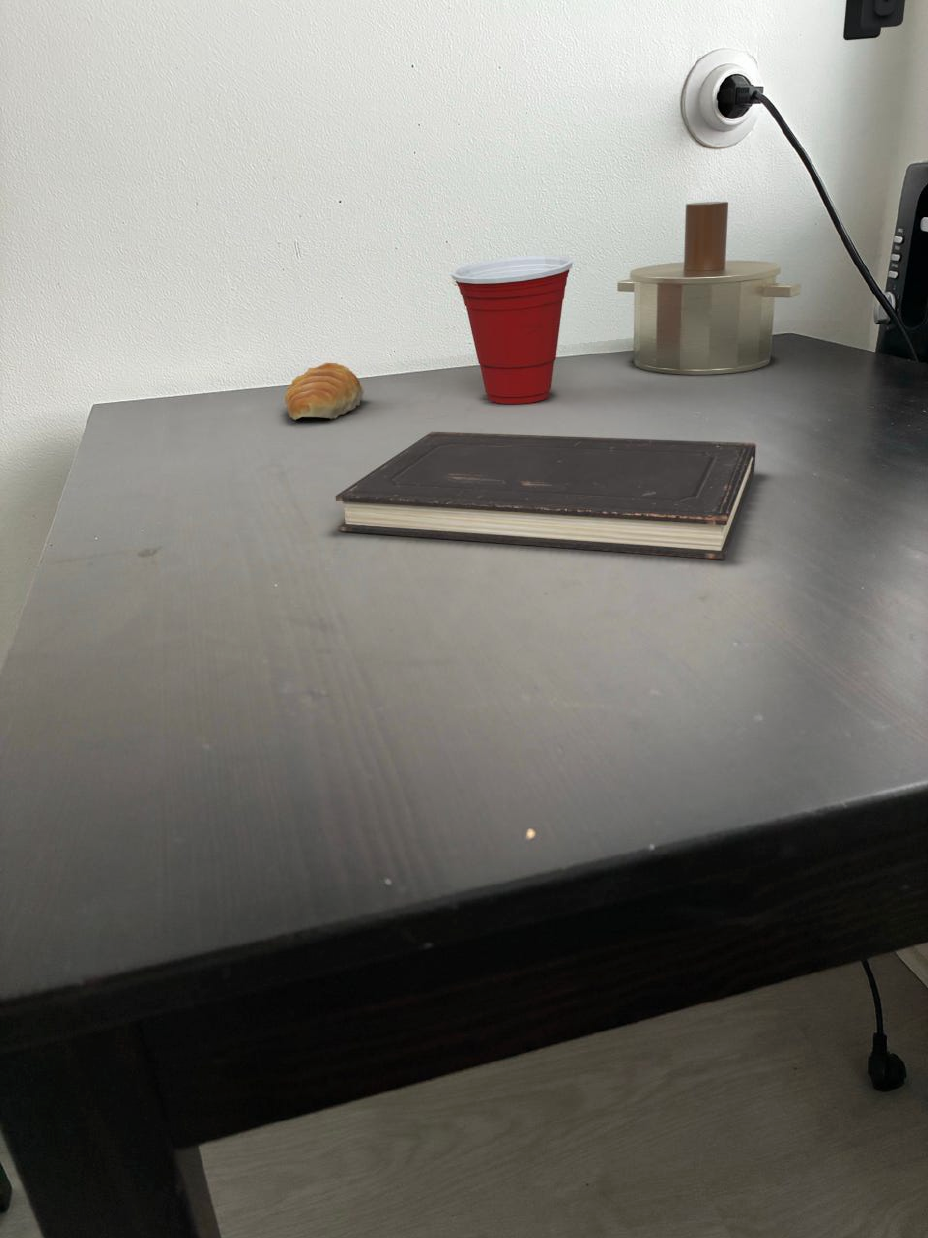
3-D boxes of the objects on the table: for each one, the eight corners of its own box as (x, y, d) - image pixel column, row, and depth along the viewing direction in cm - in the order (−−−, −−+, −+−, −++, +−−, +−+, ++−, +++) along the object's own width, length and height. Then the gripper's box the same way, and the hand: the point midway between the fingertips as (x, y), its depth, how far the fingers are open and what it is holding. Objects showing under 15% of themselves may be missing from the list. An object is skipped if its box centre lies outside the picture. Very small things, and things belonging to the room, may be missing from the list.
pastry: (347, 423, 87) (342, 379, 85) (272, 427, 87) (265, 383, 86) (367, 399, 95) (362, 359, 94) (298, 402, 96) (293, 362, 94)
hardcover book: (724, 560, 53) (726, 519, 52) (339, 531, 61) (335, 495, 60) (754, 474, 67) (756, 440, 66) (436, 459, 74) (434, 429, 73)
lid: (675, 271, 109) (677, 200, 106) (804, 273, 100) (811, 196, 97) (601, 288, 99) (601, 210, 96) (737, 293, 90) (742, 207, 87)
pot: (655, 344, 113) (656, 265, 109) (818, 356, 101) (825, 268, 98) (587, 366, 104) (586, 280, 100) (758, 381, 92) (764, 285, 89)
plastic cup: (434, 404, 92) (424, 267, 87) (507, 381, 99) (502, 254, 94) (528, 416, 85) (523, 269, 80) (598, 391, 92) (598, 254, 87)
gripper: (973, -257, 72) (940, 17, 79) (920, -185, 87) (896, 39, 95) (864, -242, 73) (841, 26, 81) (830, -174, 89) (813, 45, 96)
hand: (870, 33), depth 88 cm, fingers open, 9 cm apart
